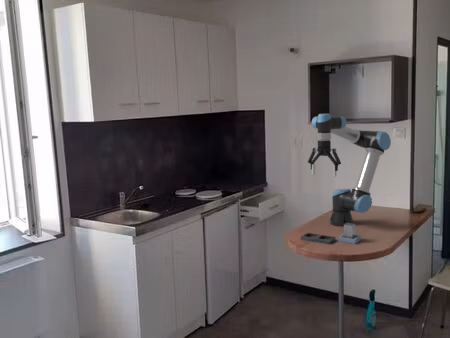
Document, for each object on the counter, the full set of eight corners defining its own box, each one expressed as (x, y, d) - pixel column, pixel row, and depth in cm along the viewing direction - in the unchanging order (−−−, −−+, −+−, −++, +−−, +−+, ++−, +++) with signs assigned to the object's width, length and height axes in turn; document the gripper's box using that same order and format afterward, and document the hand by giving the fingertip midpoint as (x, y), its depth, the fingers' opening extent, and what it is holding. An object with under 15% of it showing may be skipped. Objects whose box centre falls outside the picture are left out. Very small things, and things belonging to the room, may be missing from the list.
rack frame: (307, 235, 275) (307, 232, 275) (335, 240, 264) (335, 237, 264) (300, 239, 268) (300, 236, 268) (329, 244, 257) (329, 240, 257)
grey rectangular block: (347, 237, 267) (347, 222, 266) (355, 238, 264) (355, 223, 263) (343, 239, 263) (343, 224, 262) (352, 241, 260) (352, 225, 259)
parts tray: (344, 237, 270) (344, 232, 270) (361, 239, 264) (361, 235, 264) (338, 241, 262) (338, 237, 262) (354, 244, 257) (355, 239, 256)
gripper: (302, 140, 271) (302, 175, 274) (341, 141, 257) (341, 178, 260) (307, 139, 277) (307, 173, 280) (346, 140, 263) (346, 176, 266)
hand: (324, 175), depth 270 cm, fingers open, 13 cm apart
